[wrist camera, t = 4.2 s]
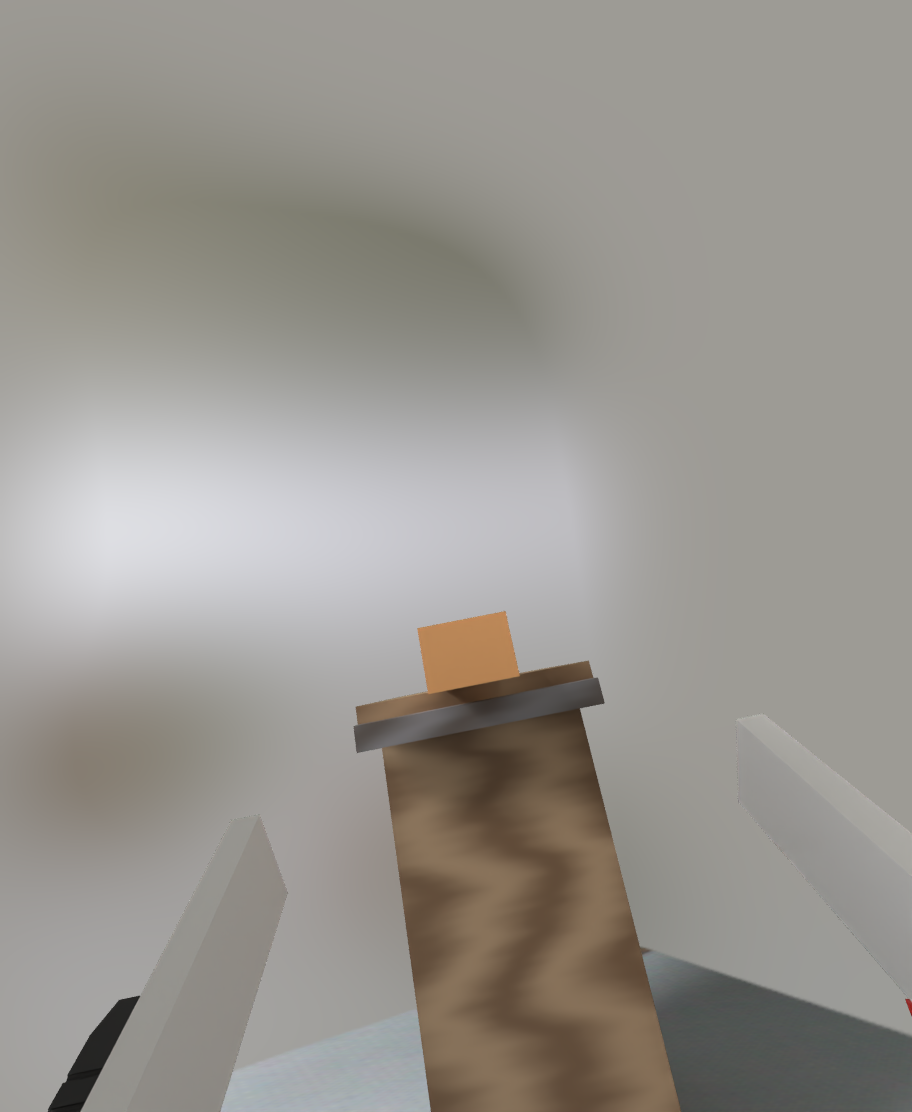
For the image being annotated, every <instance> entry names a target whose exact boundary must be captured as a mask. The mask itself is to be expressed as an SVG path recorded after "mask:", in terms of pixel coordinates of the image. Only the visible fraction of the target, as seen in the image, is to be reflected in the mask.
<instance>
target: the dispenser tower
mask: <svg viewBox="0 0 912 1112" xmlns="http://www.w3.org/2000/svg"><path fill="white" fill-rule="evenodd" d="M519 675H520V676H518V677H513V678H508V679H503V680H498V681H493V682H488V683H483V684H478V685H473V686H467V687H462V688H457V689H452V690H447V691H442V692H437V693H432V694H428V691H427V692H422V693H417V694H412V695H407V696H402V697H397V698H393V699H388V700H384V701H380V702H375V703H371V704H366V705H362V706H357V707H356V713H357V721H358V725H356V726H354V734H355V742H356V751H357V753H359V752H364V751H369V750H374V749H379V748H382V751H383V758H384V766H385V773H386V781H387V787H388V796H389V803H390V810H391V818H392V825H393V833H394V840H395V848H396V855H397V862H398V870H399V877H400V884H401V892H402V899H403V906H404V914H405V922H406V929H407V937H408V944H409V951H410V959H411V966H412V973H413V981H414V988H415V996H416V1003H417V1011H418V1018H419V1026H420V1033H421V1041H422V1048H423V1055H424V1063H425V1070H426V1078H427V1085H428V1093H429V1100H430V1107H431V1112H681V1109H680V1105H679V1101H678V1097H677V1093H676V1089H675V1085H674V1081H673V1077H672V1073H671V1069H670V1065H669V1061H668V1057H667V1053H666V1049H665V1045H664V1041H663V1037H662V1033H661V1029H660V1025H659V1021H658V1017H657V1013H656V1009H655V1005H654V1001H653V997H652V993H651V990H650V986H649V982H648V978H647V974H646V970H645V966H644V962H643V958H642V954H641V950H640V946H639V942H638V938H637V934H636V930H635V926H634V922H633V918H632V914H631V910H630V906H629V902H628V899H627V895H626V890H625V887H624V882H623V878H622V875H621V871H620V866H619V863H618V858H617V854H616V851H615V847H614V843H613V839H612V835H611V831H610V827H609V823H608V819H607V815H606V811H605V807H604V803H603V799H602V795H601V791H600V787H599V783H598V779H597V775H596V771H595V768H594V763H593V759H592V755H591V752H590V747H589V743H588V739H587V736H586V731H585V727H584V724H583V720H582V716H581V712H580V708H583V707H589V706H593V705H599V704H604V699H603V695H602V691H601V688H600V684H599V680H598V678H593V675H592V672H591V668H590V664H589V661H584V662H578V663H573V664H567V665H561V666H555V667H549V668H544V669H539V670H534V671H528V672H523V673H519Z"/></svg>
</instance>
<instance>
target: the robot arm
mask: <svg viewBox="0 0 912 1112" xmlns="http://www.w3.org/2000/svg"><path fill="white" fill-rule="evenodd" d="M736 738H737V776H738V777H737V778H738V802H739V803H740V804H741V805H742V807H743V808H744V809H745V810H746V811H747V812H748V813H749V815H750V816H751V817H752V818H753V819H754V820H755V822H756V823H757V824H758V825H759V826H760V827H761V829H763V831H764V832H765V833H766V834H767V835H768V837H769V838H770V839H771V840H772V841H773V842H774V843H775V845H776V846H777V847H778V848H779V849H780V850H781V852H782V853H783V854H784V855H785V856H786V857H787V859H788V860H789V861H790V862H791V863H792V864H793V865H794V867H795V868H796V869H797V870H798V871H799V872H800V873H801V875H802V876H803V877H804V878H805V879H806V880H807V882H808V883H809V884H810V885H811V886H812V887H813V889H814V890H815V891H816V892H817V893H818V894H819V895H820V897H821V898H822V899H823V900H824V901H825V902H826V903H827V905H828V906H829V907H830V908H831V909H832V910H833V912H834V913H835V914H836V915H837V916H838V917H839V918H840V920H841V921H842V922H843V923H844V924H845V925H846V926H847V928H848V929H849V930H850V931H851V932H852V933H853V935H854V936H855V937H856V938H857V939H858V941H859V942H860V943H861V944H862V945H863V946H864V947H865V949H866V950H867V951H868V952H869V953H870V954H871V956H872V957H873V958H874V959H875V960H876V961H877V962H878V963H879V965H880V966H881V967H882V968H883V969H884V970H885V972H886V973H887V974H888V975H889V976H890V977H891V979H892V980H893V981H894V982H895V983H896V984H897V985H898V986H899V988H900V989H901V990H902V991H903V992H904V994H905V995H906V996H907V997H908V998H909V999H910V1001H911V1002H912V833H910V832H909V831H908V830H907V829H906V828H904V827H903V826H902V825H901V824H899V823H898V822H897V821H896V820H894V819H893V818H892V817H891V816H889V815H888V814H887V813H885V812H884V811H883V810H882V809H881V808H880V807H878V806H877V805H876V804H875V803H873V802H872V801H871V800H870V799H868V798H867V797H866V796H864V795H863V794H862V793H861V792H860V791H858V790H857V789H856V788H855V787H853V786H852V785H851V784H850V783H849V782H847V781H846V780H845V779H843V778H842V777H841V776H840V775H839V774H837V773H836V772H835V771H834V770H832V769H831V768H830V767H829V766H827V765H826V764H825V763H824V762H823V761H821V760H820V759H819V758H818V757H816V756H815V755H814V754H813V753H811V752H810V751H809V750H808V749H806V748H805V747H804V746H803V745H801V744H800V743H799V742H798V741H796V740H795V739H794V738H793V737H792V736H790V735H789V734H788V733H786V732H785V731H784V730H783V729H782V728H780V727H779V726H778V725H777V724H775V723H774V722H773V721H772V720H770V719H769V718H768V717H767V716H765V715H764V714H760V715H755V716H750V717H745V718H740V719H736ZM287 894H288V892H287V889H286V887H285V884H284V881H283V879H282V876H281V873H280V870H279V867H278V864H277V862H276V859H275V856H274V853H273V851H272V847H271V845H270V842H269V839H268V836H267V833H266V831H265V828H264V825H263V823H262V820H261V817H260V815H254V816H249V817H244V818H239V819H234V820H231V822H230V824H229V826H228V828H227V830H226V832H225V833H224V835H223V837H222V839H221V841H220V843H219V845H218V847H217V849H216V851H215V853H214V855H213V857H212V858H211V860H210V862H209V864H208V866H207V868H206V870H205V872H204V874H203V876H202V878H201V880H200V882H199V884H198V886H197V888H196V890H195V891H194V893H193V895H192V897H191V899H190V901H189V903H188V905H187V907H186V909H185V911H184V913H183V914H182V916H181V919H180V920H179V922H178V924H177V926H176V928H175V930H174V932H173V934H172V936H171V938H170V940H169V942H168V944H167V946H166V947H165V949H164V951H163V953H162V955H161V957H160V959H159V961H158V963H157V965H156V967H155V969H154V971H153V973H152V974H151V976H150V978H149V980H148V982H147V984H146V986H145V988H144V990H143V992H142V994H141V996H136V997H131V998H127V999H122V1000H119V1001H118V1002H117V1003H116V1005H115V1006H114V1007H113V1008H112V1009H111V1011H110V1012H109V1013H108V1014H107V1015H106V1017H105V1018H104V1019H103V1020H102V1022H101V1023H100V1024H99V1025H98V1026H97V1028H96V1029H95V1030H94V1031H93V1032H92V1034H91V1035H90V1036H89V1038H88V1040H87V1042H86V1043H85V1045H84V1047H83V1049H82V1050H81V1052H80V1054H79V1056H78V1057H77V1059H76V1061H75V1063H74V1065H73V1066H72V1068H71V1070H70V1071H69V1073H68V1078H67V1081H66V1082H65V1083H63V1084H62V1086H61V1088H60V1089H59V1091H58V1093H57V1094H56V1096H55V1098H54V1100H53V1101H52V1103H51V1105H50V1107H49V1109H48V1112H220V1111H221V1107H222V1104H223V1101H224V1098H225V1094H226V1091H227V1088H228V1085H229V1082H230V1078H231V1075H232V1072H233V1069H234V1065H235V1062H236V1059H237V1056H238V1052H239V1049H240V1046H241V1043H242V1039H243V1036H244V1033H245V1030H246V1026H247V1023H248V1020H249V1016H250V1013H251V1010H252V1007H253V1003H254V1001H255V997H256V994H257V991H258V988H259V984H260V981H261V977H262V975H263V971H264V968H265V965H266V962H267V958H268V955H269V952H270V949H271V945H272V942H273V939H274V936H275V933H276V929H277V926H278V923H279V920H280V916H281V913H282V910H283V907H284V903H285V900H286V897H287Z"/></svg>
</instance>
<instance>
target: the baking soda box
mask: <svg viewBox="0 0 912 1112" xmlns="http://www.w3.org/2000/svg"><path fill="white" fill-rule="evenodd" d="M906 1003H907V1005H908V1008H909V1010H910V1013H911V1016H912V1002H911V1001H910V999H906Z"/></svg>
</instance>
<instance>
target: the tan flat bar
mask: <svg viewBox="0 0 912 1112" xmlns="http://www.w3.org/2000/svg"><path fill="white" fill-rule="evenodd" d="M418 635H419V641H420V646H421V653H422V659H423V665H424V671H425V677H426V683H427V689H428V694H432V693H437V692H442V691H447V690H452V689H457V688H462V687H467V686H473V685H478V684H483V683H488V682H493V681H498V680H503V679H508V678H513V677H518V676H520V675H519V670H518V666H517V661H516V657H515V652H514V648H513V643H512V639H511V634H510V630H509V626H508V621H507V616H506V612H505V611H504V612H499V613H494V614H488V615H483V616H478V617H473V618H468V619H463V620H457V621H453V622H447V623H442V624H437V625H432V626H427V627H422V628H418Z"/></svg>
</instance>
